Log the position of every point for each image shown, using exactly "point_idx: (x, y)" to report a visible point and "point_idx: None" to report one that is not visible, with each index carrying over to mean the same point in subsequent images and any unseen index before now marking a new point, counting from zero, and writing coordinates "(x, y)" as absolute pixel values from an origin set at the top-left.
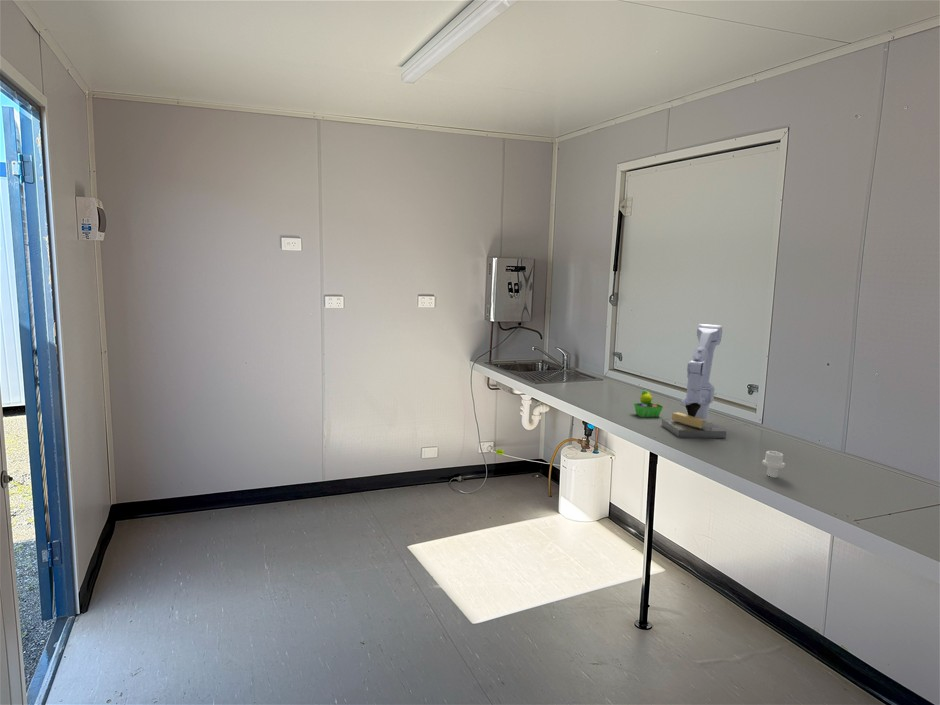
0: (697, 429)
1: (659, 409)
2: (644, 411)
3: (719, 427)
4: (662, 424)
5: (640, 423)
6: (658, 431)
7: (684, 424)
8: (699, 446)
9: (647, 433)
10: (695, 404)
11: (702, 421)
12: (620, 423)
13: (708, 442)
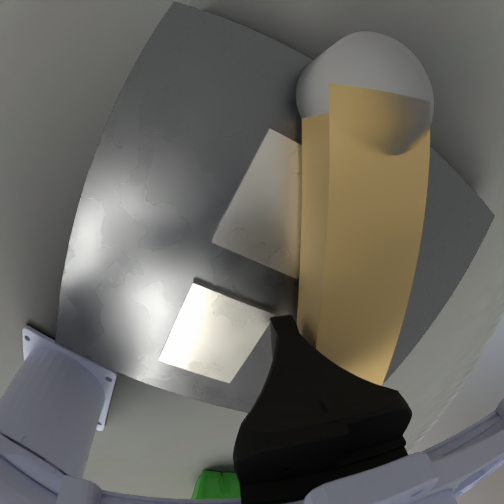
0: None
1: (211, 495)
2: None
3: (112, 118)
4: None
5: None
6: (440, 322)
7: None
8: (484, 45)
9: (490, 306)
10: (305, 475)
11: (429, 128)
12: (426, 421)
13: (401, 33)
